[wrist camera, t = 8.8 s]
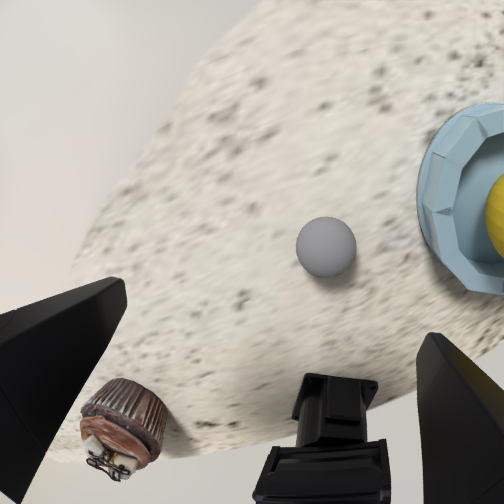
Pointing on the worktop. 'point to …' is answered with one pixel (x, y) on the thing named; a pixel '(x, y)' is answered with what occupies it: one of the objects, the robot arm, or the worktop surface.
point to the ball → (326, 247)
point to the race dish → (463, 195)
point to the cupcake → (122, 428)
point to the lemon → (496, 214)
